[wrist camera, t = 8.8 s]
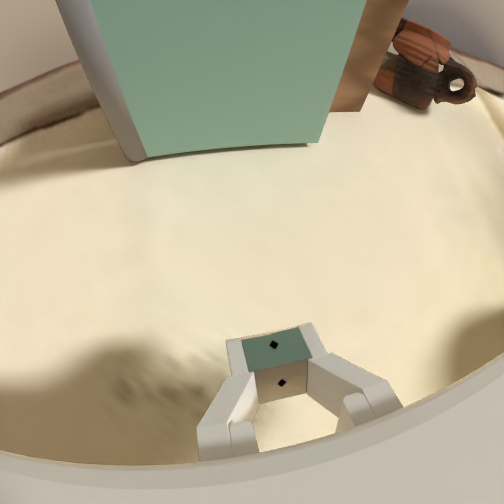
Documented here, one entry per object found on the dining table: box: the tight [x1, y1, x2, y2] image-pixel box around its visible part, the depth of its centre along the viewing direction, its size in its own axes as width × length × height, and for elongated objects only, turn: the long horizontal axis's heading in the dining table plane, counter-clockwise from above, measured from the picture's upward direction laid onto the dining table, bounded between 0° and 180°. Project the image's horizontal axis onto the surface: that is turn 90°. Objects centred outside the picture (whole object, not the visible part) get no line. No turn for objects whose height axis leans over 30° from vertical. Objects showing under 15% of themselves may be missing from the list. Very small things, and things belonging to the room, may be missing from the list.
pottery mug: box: [374, 18, 477, 109], centre depth 22 cm, size 12×10×8 cm
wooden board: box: [329, 0, 408, 112], centre depth 16 cm, size 17×5×13 cm, turn 101°
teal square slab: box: [56, 0, 367, 161], centre depth 14 cm, size 14×2×14 cm, turn 97°
